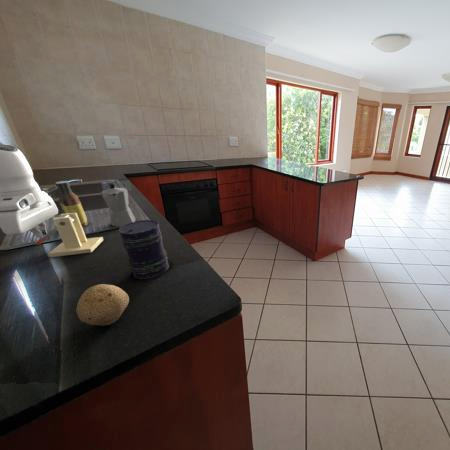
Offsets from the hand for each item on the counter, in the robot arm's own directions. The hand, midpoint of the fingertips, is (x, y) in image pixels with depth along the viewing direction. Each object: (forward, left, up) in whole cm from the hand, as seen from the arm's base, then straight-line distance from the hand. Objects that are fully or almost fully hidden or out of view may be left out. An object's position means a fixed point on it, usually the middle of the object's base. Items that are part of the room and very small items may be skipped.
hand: (42, 235), depth 82 cm
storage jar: (+38, -23, -6) cm, 45 cm away
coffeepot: (+16, +24, -6) cm, 29 cm away
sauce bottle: (-1, +24, -6) cm, 25 cm away
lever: (+5, 0, +1) cm, 5 cm away
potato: (+34, -44, -6) cm, 56 cm away
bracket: (+9, 0, -6) cm, 11 cm away
